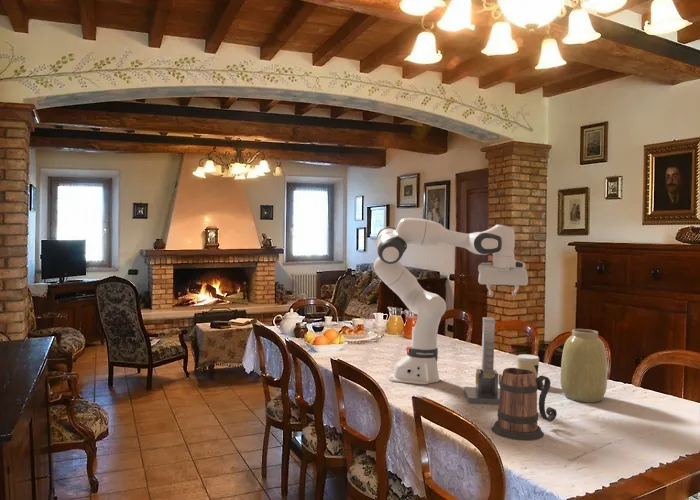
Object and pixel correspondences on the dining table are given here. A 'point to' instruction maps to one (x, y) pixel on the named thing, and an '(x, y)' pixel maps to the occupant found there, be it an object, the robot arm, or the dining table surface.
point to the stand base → (484, 389)
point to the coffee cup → (528, 363)
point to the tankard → (521, 405)
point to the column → (488, 345)
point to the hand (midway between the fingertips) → (502, 295)
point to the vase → (584, 366)
